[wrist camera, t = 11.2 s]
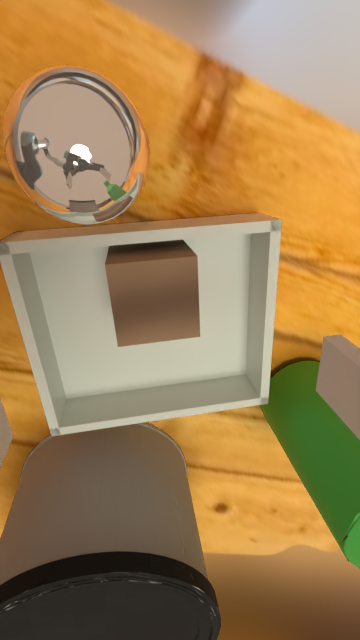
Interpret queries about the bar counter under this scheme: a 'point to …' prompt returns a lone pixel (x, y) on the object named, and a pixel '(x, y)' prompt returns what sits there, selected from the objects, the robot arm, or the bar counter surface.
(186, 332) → the walnut block
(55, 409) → the tray
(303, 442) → the bottle
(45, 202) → the light bulb
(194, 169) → the bar counter surface
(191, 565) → the container
